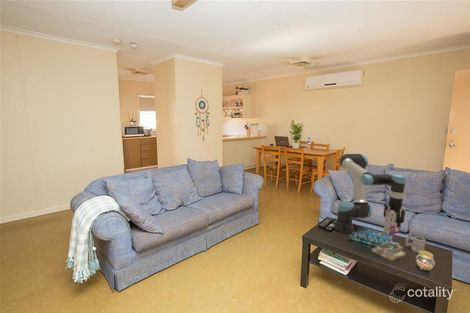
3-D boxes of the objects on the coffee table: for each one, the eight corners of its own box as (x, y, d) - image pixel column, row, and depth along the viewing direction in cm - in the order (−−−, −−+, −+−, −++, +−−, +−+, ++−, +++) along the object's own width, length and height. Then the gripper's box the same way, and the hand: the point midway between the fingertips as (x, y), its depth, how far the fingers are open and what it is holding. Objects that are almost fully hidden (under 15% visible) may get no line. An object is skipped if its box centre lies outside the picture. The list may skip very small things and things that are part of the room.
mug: (423, 255, 170) (426, 239, 168) (403, 248, 178) (405, 233, 176) (424, 251, 175) (427, 235, 173) (405, 245, 183) (407, 230, 181)
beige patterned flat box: (371, 250, 174) (372, 244, 174) (385, 245, 182) (386, 239, 181) (391, 261, 162) (392, 255, 161) (405, 254, 170) (406, 249, 169)
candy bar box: (392, 229, 174) (396, 207, 171) (400, 232, 169) (403, 210, 167) (382, 232, 169) (385, 209, 166) (389, 235, 165) (392, 212, 162)
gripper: (379, 194, 171) (375, 225, 175) (407, 202, 156) (402, 236, 159) (386, 192, 175) (382, 223, 179) (414, 200, 159) (409, 234, 163)
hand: (391, 229), depth 169 cm, fingers closed on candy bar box, 5 cm apart
